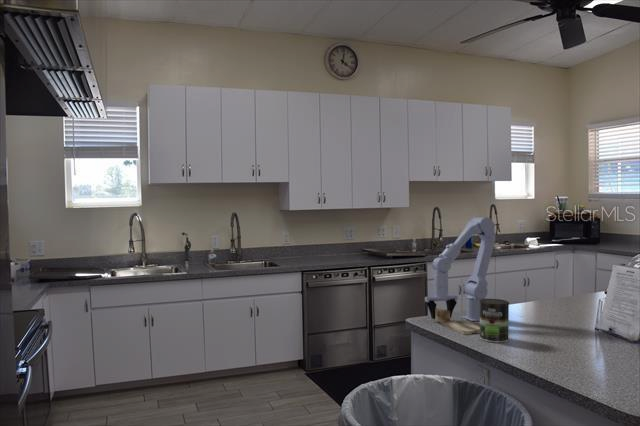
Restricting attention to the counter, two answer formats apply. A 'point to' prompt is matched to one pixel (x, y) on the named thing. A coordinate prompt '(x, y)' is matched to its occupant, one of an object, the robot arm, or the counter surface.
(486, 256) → the robot arm
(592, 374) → the counter surface
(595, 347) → the counter surface
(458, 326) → the board
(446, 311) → the block
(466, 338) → the counter surface
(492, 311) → the coffee can
